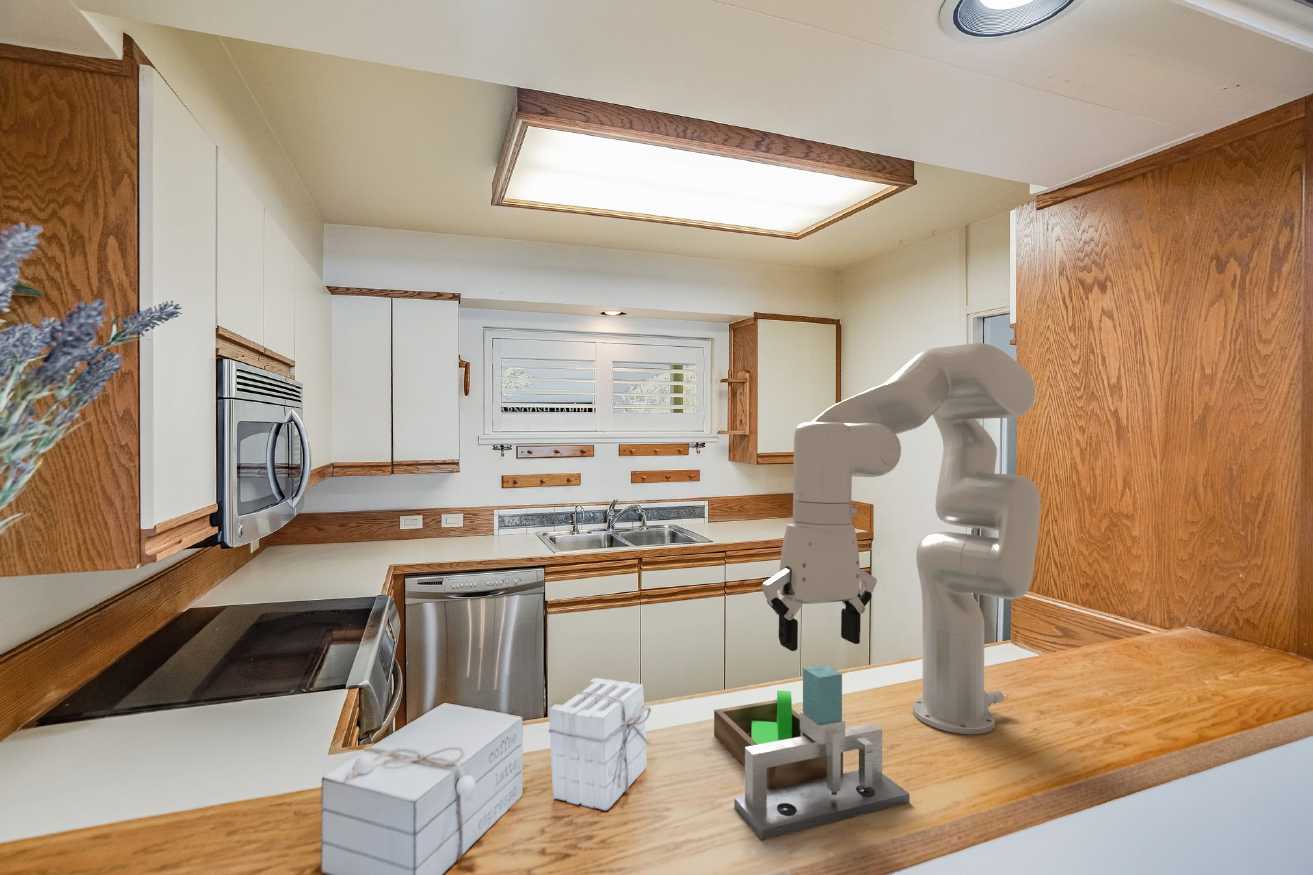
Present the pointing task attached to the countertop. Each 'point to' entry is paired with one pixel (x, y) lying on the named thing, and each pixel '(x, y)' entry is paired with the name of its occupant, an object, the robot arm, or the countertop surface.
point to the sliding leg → (824, 717)
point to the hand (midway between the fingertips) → (820, 644)
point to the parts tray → (733, 736)
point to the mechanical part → (775, 730)
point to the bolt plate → (819, 804)
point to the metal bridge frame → (806, 748)
